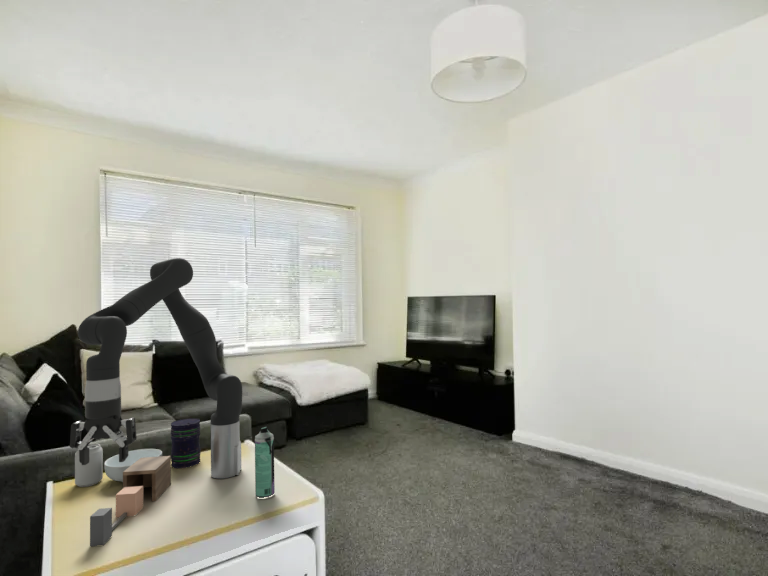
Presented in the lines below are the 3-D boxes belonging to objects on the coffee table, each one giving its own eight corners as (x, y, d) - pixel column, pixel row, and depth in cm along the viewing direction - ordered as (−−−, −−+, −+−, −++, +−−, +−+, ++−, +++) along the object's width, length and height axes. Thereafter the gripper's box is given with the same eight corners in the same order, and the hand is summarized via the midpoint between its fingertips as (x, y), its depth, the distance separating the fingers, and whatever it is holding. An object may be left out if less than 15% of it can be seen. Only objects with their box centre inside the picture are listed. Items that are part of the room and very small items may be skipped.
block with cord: (143, 507, 122) (143, 482, 122) (107, 545, 103) (108, 515, 103) (124, 508, 122) (124, 483, 122) (85, 546, 102) (85, 516, 102)
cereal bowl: (132, 467, 154) (132, 447, 154) (173, 469, 151) (173, 449, 151) (91, 487, 137) (91, 464, 138) (136, 490, 134) (136, 467, 134)
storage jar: (167, 463, 157) (166, 422, 157) (194, 456, 163) (194, 416, 164) (175, 470, 150) (175, 427, 150) (204, 463, 156) (204, 421, 157)
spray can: (278, 493, 129) (277, 425, 130) (266, 501, 124) (265, 430, 125) (264, 490, 131) (263, 424, 132) (251, 497, 126) (250, 429, 127)
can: (108, 478, 144) (108, 442, 144) (90, 488, 136) (90, 449, 137) (87, 478, 145) (87, 442, 145) (68, 487, 137) (69, 449, 138)
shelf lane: (170, 484, 138) (170, 455, 138) (155, 501, 126) (155, 469, 126) (141, 486, 137) (141, 457, 137) (122, 503, 125) (122, 472, 125)
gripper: (140, 392, 112) (141, 455, 111) (80, 395, 110) (81, 459, 109) (127, 398, 104) (127, 466, 104) (63, 401, 103) (63, 470, 102)
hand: (104, 462), depth 107 cm, fingers open, 8 cm apart
